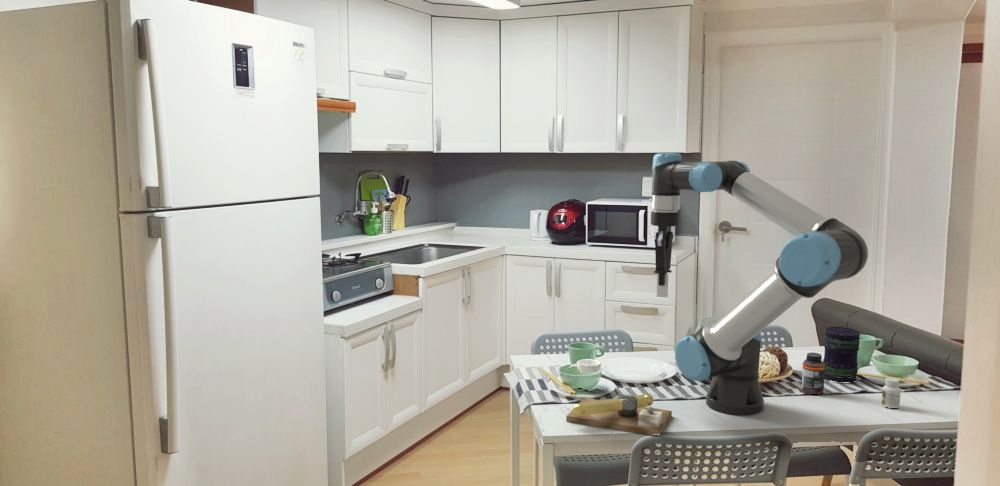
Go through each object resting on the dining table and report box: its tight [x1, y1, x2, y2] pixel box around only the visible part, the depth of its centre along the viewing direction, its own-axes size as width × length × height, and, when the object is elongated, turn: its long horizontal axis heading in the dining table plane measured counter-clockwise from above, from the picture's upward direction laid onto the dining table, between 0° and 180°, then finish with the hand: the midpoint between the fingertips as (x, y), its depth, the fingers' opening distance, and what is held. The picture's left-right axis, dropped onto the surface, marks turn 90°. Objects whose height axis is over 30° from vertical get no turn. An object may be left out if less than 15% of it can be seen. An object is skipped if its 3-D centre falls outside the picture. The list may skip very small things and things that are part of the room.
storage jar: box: [822, 326, 861, 382], centre depth 235 cm, size 10×10×15 cm
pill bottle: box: [881, 377, 902, 409], centre depth 211 cm, size 4×4×8 cm
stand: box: [565, 397, 673, 436], centre depth 201 cm, size 24×15×6 cm, turn 66°
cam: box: [572, 393, 654, 417], centre depth 199 cm, size 23×5×4 cm, turn 112°
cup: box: [568, 358, 602, 391], centre depth 225 cm, size 7×10×8 cm
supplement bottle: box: [801, 352, 825, 395], centre depth 223 cm, size 6×6×11 cm
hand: (662, 296), depth 212 cm, fingers closed
